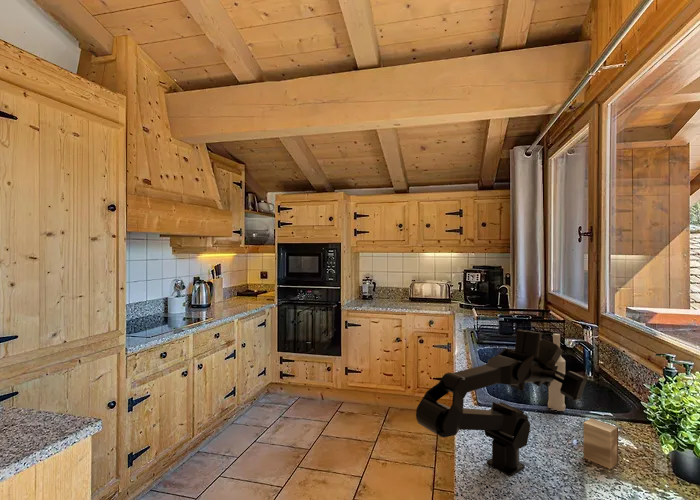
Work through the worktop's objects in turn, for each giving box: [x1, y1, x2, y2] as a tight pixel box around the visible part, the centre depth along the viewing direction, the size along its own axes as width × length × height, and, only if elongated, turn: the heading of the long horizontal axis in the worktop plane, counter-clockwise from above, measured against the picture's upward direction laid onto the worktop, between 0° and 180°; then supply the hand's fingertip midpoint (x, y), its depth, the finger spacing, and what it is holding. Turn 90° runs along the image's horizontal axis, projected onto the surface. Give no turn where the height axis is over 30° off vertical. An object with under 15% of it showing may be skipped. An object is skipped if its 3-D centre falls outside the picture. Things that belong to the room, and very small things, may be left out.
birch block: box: [583, 417, 619, 470], centre depth 94 cm, size 4×6×9 cm
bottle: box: [547, 333, 566, 412], centre depth 124 cm, size 5×5×25 cm
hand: (563, 373), depth 104 cm, fingers open, 9 cm apart
